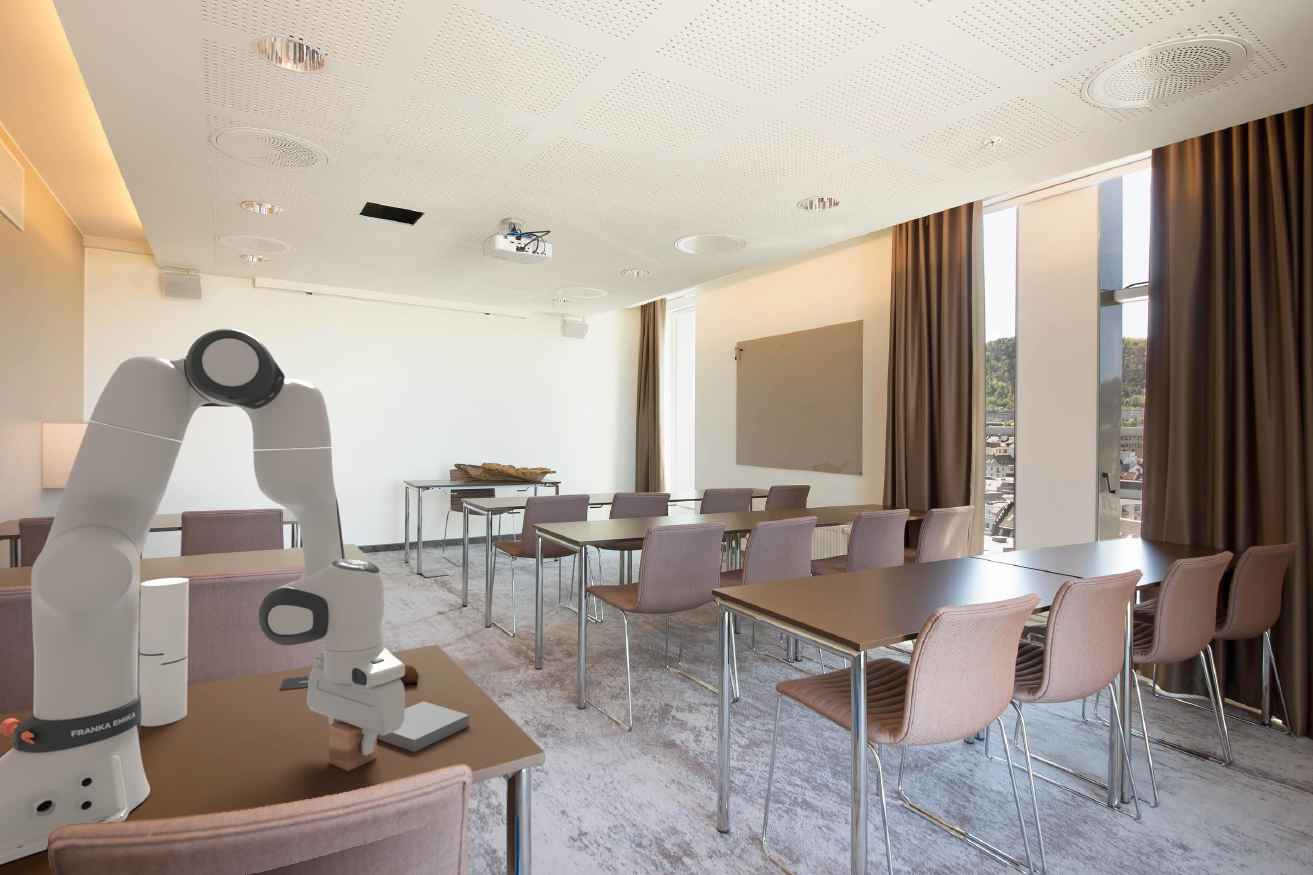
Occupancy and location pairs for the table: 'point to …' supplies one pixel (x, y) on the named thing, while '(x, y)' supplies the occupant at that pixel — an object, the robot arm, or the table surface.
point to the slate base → (425, 726)
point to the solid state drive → (294, 683)
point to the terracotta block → (347, 746)
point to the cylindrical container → (163, 650)
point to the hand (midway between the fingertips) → (353, 748)
